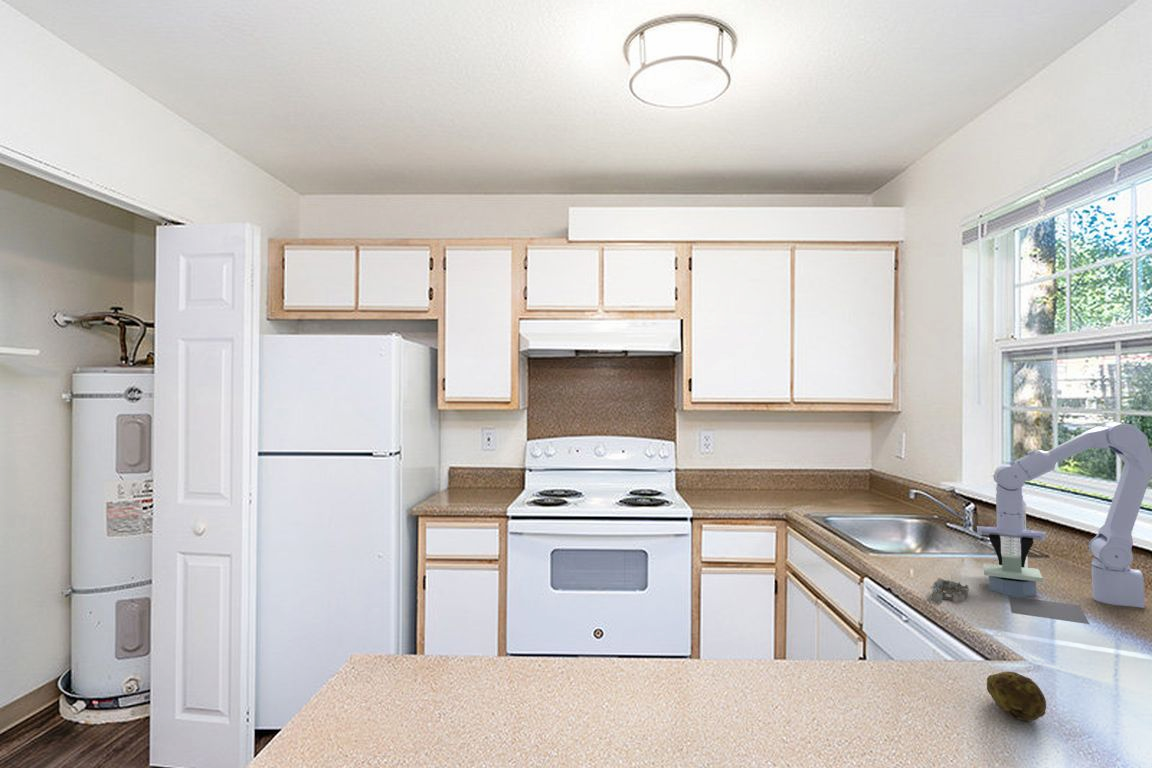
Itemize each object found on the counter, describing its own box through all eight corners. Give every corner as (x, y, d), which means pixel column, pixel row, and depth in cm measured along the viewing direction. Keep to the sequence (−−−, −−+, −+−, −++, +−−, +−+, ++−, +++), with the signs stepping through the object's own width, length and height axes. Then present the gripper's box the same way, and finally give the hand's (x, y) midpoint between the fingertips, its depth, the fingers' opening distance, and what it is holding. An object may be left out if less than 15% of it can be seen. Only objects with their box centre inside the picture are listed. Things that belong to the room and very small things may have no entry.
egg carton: (963, 607, 150) (963, 590, 150) (928, 601, 155) (928, 585, 155) (972, 596, 158) (971, 580, 158) (938, 590, 163) (938, 575, 163)
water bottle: (1033, 581, 169) (1030, 489, 169) (1005, 580, 170) (1002, 489, 171) (1020, 574, 176) (1018, 486, 176) (993, 573, 177) (991, 485, 177)
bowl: (1033, 591, 161) (1033, 574, 162) (1037, 602, 153) (1036, 583, 153) (988, 585, 167) (988, 568, 167) (989, 595, 158) (989, 578, 158)
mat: (1080, 608, 148) (1079, 605, 148) (1089, 627, 136) (1089, 623, 136) (1008, 598, 155) (1008, 595, 155) (1011, 616, 144) (1011, 612, 144)
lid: (1038, 572, 161) (1037, 555, 162) (1043, 582, 151) (1042, 563, 152) (983, 566, 168) (982, 549, 168) (984, 575, 158) (983, 557, 158)
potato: (1050, 710, 101) (1048, 660, 102) (1045, 744, 92) (1044, 690, 92) (989, 695, 107) (988, 648, 107) (979, 726, 97) (977, 674, 97)
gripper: (976, 512, 161) (978, 565, 161) (1046, 517, 153) (1048, 573, 153) (976, 508, 167) (977, 558, 167) (1043, 513, 159) (1045, 566, 159)
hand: (1011, 565), depth 160 cm, fingers closed on lid, 4 cm apart
